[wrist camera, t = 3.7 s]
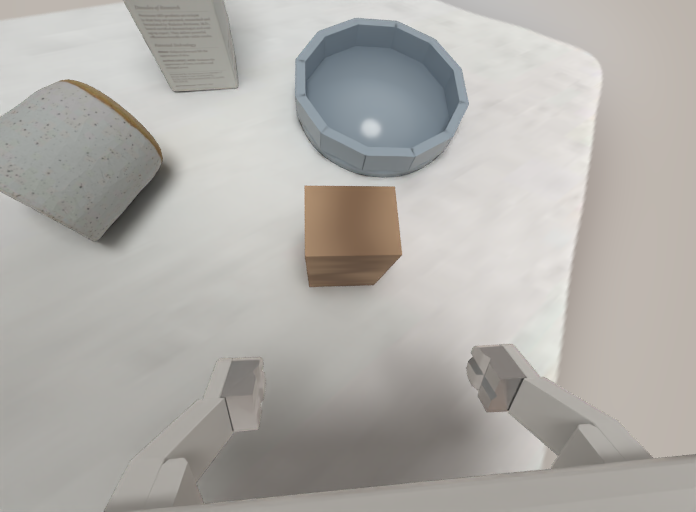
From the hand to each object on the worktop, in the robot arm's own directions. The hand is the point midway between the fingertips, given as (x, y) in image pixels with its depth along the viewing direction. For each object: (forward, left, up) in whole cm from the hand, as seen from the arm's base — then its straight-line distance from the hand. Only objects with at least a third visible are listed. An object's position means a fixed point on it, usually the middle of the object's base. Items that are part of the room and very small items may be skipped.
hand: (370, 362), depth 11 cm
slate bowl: (+4, +22, -10) cm, 25 cm away
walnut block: (0, +7, -10) cm, 12 cm away
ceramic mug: (-19, +14, -11) cm, 26 cm away
